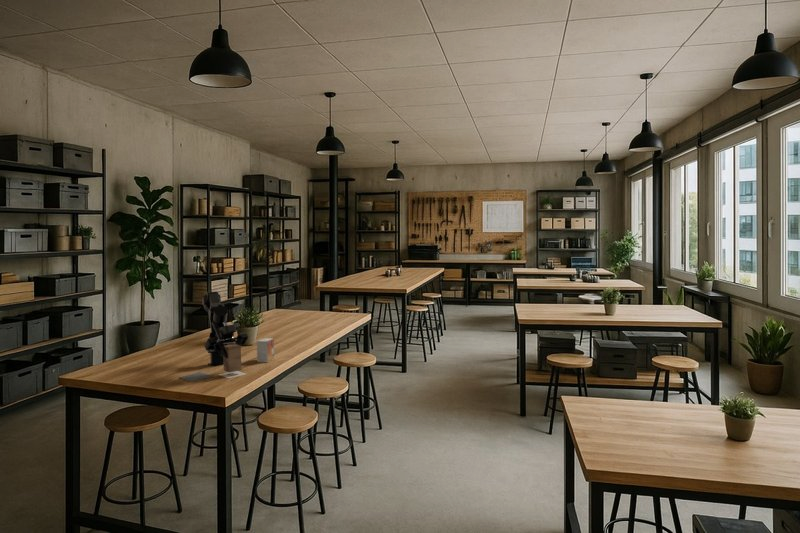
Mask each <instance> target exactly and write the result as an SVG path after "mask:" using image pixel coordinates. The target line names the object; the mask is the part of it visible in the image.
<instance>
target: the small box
mask: <svg viewBox="0 0 800 533" xmlns="http://www.w3.org/2000/svg"><path fill="white" fill-rule="evenodd" d="M256 355H257V356H256V359H257V360H256V361H257V362H258V363H269V362H272V361H273V360H275V339H274V338H273V337H272V338H270V337H269V338H267V337H264V338H262V339H260V340H257V341H256ZM272 359H273V360H272Z"/></svg>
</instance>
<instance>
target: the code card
mask: <svg viewBox="0 0 800 533" xmlns="http://www.w3.org/2000/svg"><path fill="white" fill-rule="evenodd" d="M218 375H219V376H221V377H224V378H226V379H231V378H235V377H240V376H245V375H247V373H245V372H242V371H241V370H240V371H235V372H230V373H229V372H224V373H219V374H218Z"/></svg>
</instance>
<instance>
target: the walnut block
mask: <svg viewBox="0 0 800 533" xmlns="http://www.w3.org/2000/svg"><path fill="white" fill-rule="evenodd" d="M241 348H242V345H237V344H234V343H231V344H228V345H225V346H224V349H225V351H226V353H227V355H228V358H225V357H224V356H223V363H224V364H223V371H225V372H226V373H228V372H229V373H230V372H235V371H240V372H241V371H242V349H241Z"/></svg>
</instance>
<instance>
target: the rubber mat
mask: <svg viewBox="0 0 800 533" xmlns="http://www.w3.org/2000/svg"><path fill="white" fill-rule="evenodd" d="M212 377H214V376H213V375H212V374H207V373H203V372H195V373H191V374H187V375H186V374H185V375H182V376H179V377H178V379H180V380H183V381H189V382H191V383H193V382H197V381H201V380H204V379H209V378H212Z"/></svg>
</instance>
